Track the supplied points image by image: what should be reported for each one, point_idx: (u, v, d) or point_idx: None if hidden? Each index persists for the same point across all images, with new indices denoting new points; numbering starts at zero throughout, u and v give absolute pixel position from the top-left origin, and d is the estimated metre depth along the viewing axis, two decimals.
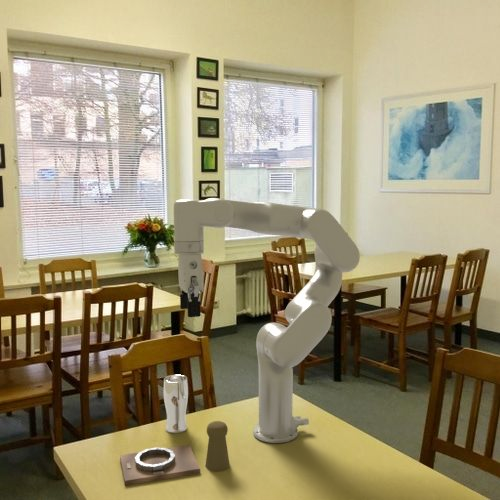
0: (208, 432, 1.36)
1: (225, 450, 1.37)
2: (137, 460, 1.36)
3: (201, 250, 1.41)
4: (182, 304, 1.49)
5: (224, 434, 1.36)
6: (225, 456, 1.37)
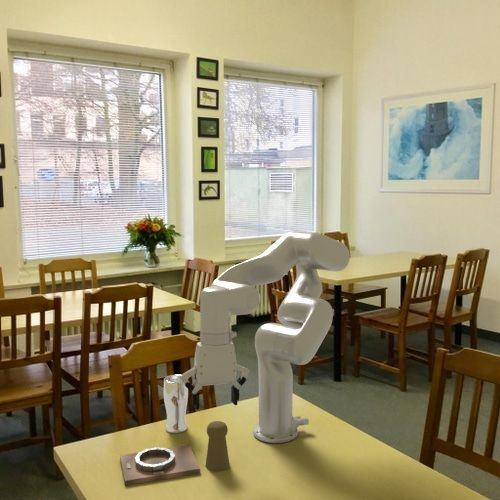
0: (208, 432, 1.36)
1: (225, 450, 1.37)
2: (137, 460, 1.36)
3: None
4: None
5: (224, 434, 1.36)
6: (225, 456, 1.37)
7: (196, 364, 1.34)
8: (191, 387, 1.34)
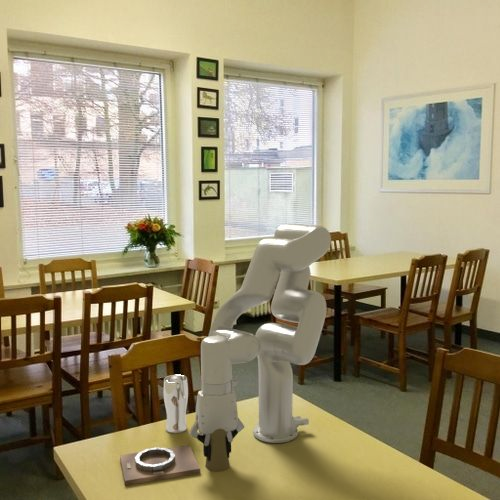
0: None
1: (225, 450, 1.37)
2: (137, 460, 1.36)
3: None
4: None
5: (224, 434, 1.36)
6: (225, 456, 1.37)
7: (198, 413, 1.35)
8: (201, 441, 1.36)
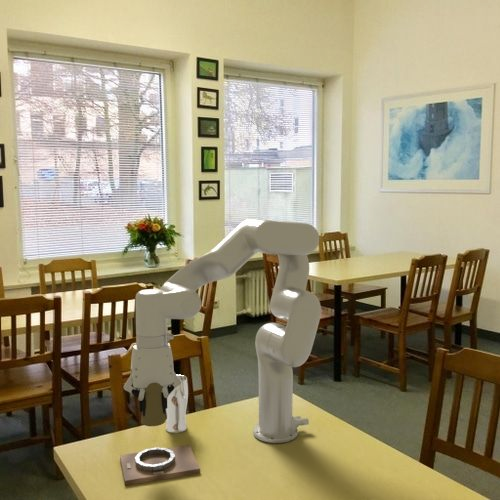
0: None
1: (161, 405, 1.35)
2: (137, 460, 1.36)
3: None
4: None
5: (159, 389, 1.34)
6: (160, 411, 1.35)
7: (132, 367, 1.33)
8: (136, 396, 1.34)
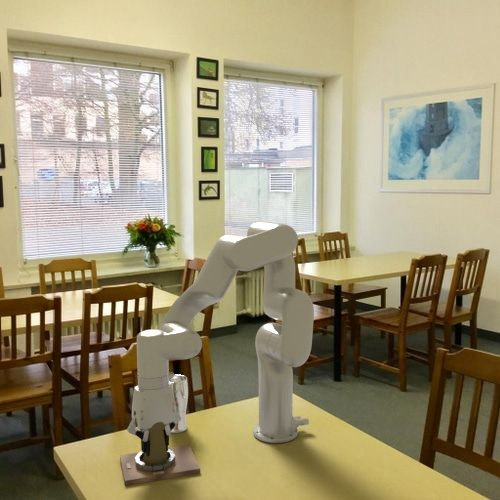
0: None
1: (164, 444, 1.37)
2: (137, 460, 1.36)
3: None
4: None
5: (163, 427, 1.36)
6: (164, 449, 1.37)
7: (136, 409, 1.33)
8: (140, 437, 1.34)
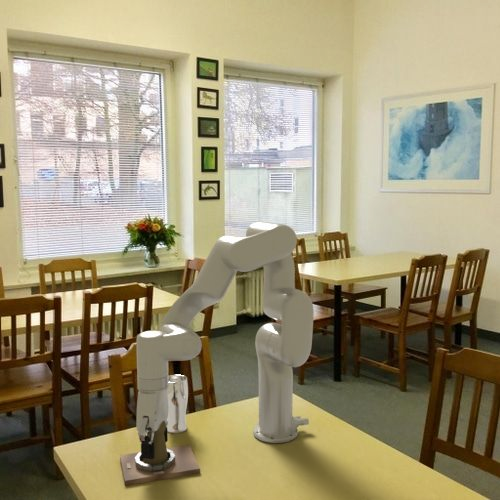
0: None
1: None
2: (137, 460, 1.36)
3: None
4: None
5: None
6: (166, 448, 1.39)
7: (148, 413, 1.31)
8: (148, 439, 1.31)
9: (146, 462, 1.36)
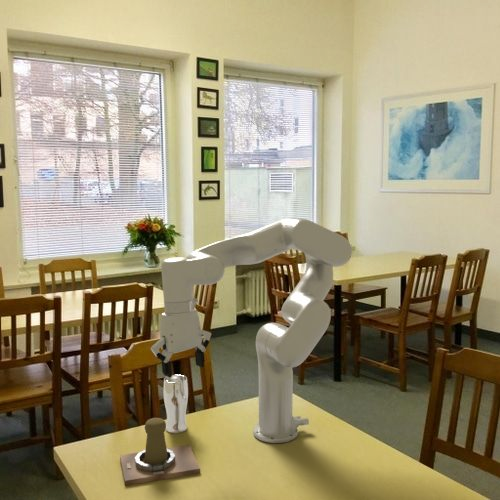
0: (154, 430, 1.35)
1: None
2: (137, 460, 1.36)
3: None
4: None
5: None
6: (166, 448, 1.39)
7: (165, 334, 1.38)
8: (162, 357, 1.38)
9: (146, 462, 1.36)
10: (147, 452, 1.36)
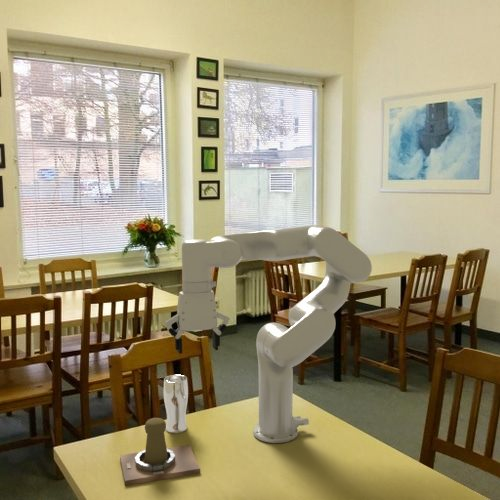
0: (154, 430, 1.35)
1: None
2: (137, 460, 1.36)
3: None
4: None
5: None
6: (166, 448, 1.39)
7: (179, 311, 1.43)
8: (174, 333, 1.43)
9: (146, 462, 1.36)
10: (147, 452, 1.36)
